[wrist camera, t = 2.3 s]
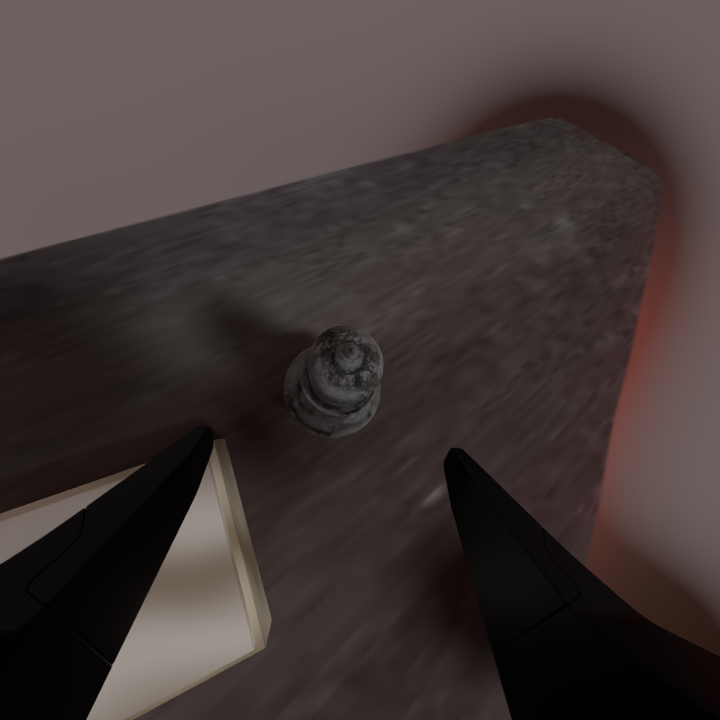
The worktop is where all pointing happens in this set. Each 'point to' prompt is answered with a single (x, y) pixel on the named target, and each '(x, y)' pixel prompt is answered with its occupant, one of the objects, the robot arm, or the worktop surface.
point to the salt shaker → (335, 383)
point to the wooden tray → (172, 592)
